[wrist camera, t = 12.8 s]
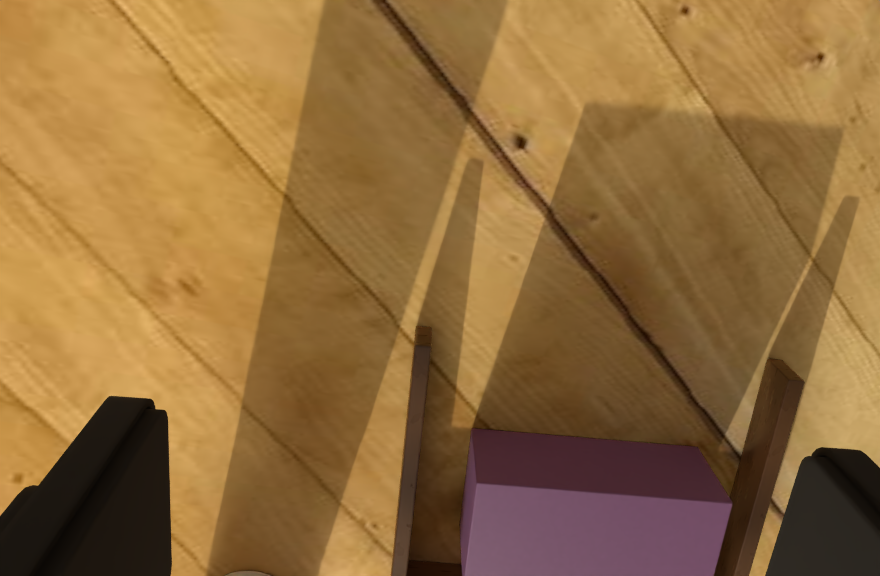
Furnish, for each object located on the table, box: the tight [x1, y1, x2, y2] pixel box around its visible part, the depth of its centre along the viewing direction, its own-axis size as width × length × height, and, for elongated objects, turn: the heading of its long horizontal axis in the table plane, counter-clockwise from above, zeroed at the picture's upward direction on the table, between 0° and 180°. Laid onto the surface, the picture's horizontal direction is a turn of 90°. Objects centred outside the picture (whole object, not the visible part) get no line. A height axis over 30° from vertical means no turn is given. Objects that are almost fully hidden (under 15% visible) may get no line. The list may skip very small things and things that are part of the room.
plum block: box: [460, 428, 733, 576], centre depth 38 cm, size 6×12×5 cm, turn 84°
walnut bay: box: [391, 326, 804, 576], centre depth 39 cm, size 15×19×2 cm
